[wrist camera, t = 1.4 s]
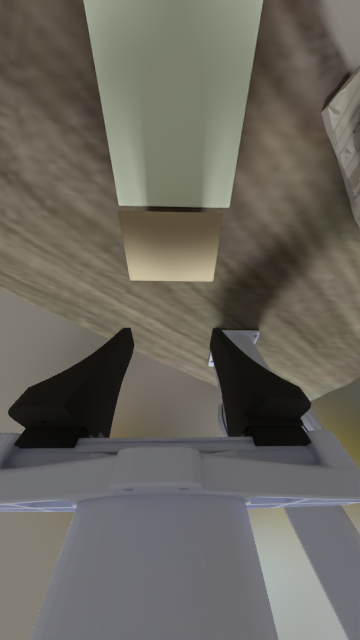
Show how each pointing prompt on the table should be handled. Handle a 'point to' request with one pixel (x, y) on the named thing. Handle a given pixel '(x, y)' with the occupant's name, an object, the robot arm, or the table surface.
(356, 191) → the packaged product
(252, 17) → the mat
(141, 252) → the birch block
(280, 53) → the table surface
